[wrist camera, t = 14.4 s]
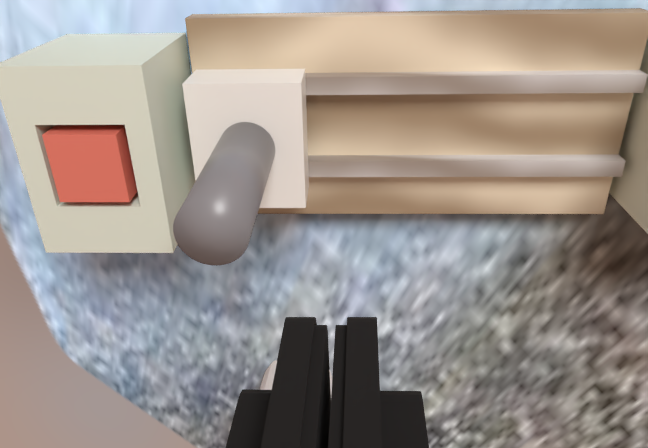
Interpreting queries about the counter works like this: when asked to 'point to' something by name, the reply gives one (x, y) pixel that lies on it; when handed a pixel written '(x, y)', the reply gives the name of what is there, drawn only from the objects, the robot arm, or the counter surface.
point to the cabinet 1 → (105, 109)
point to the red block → (91, 163)
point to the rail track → (448, 103)
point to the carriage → (241, 156)
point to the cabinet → (635, 157)
